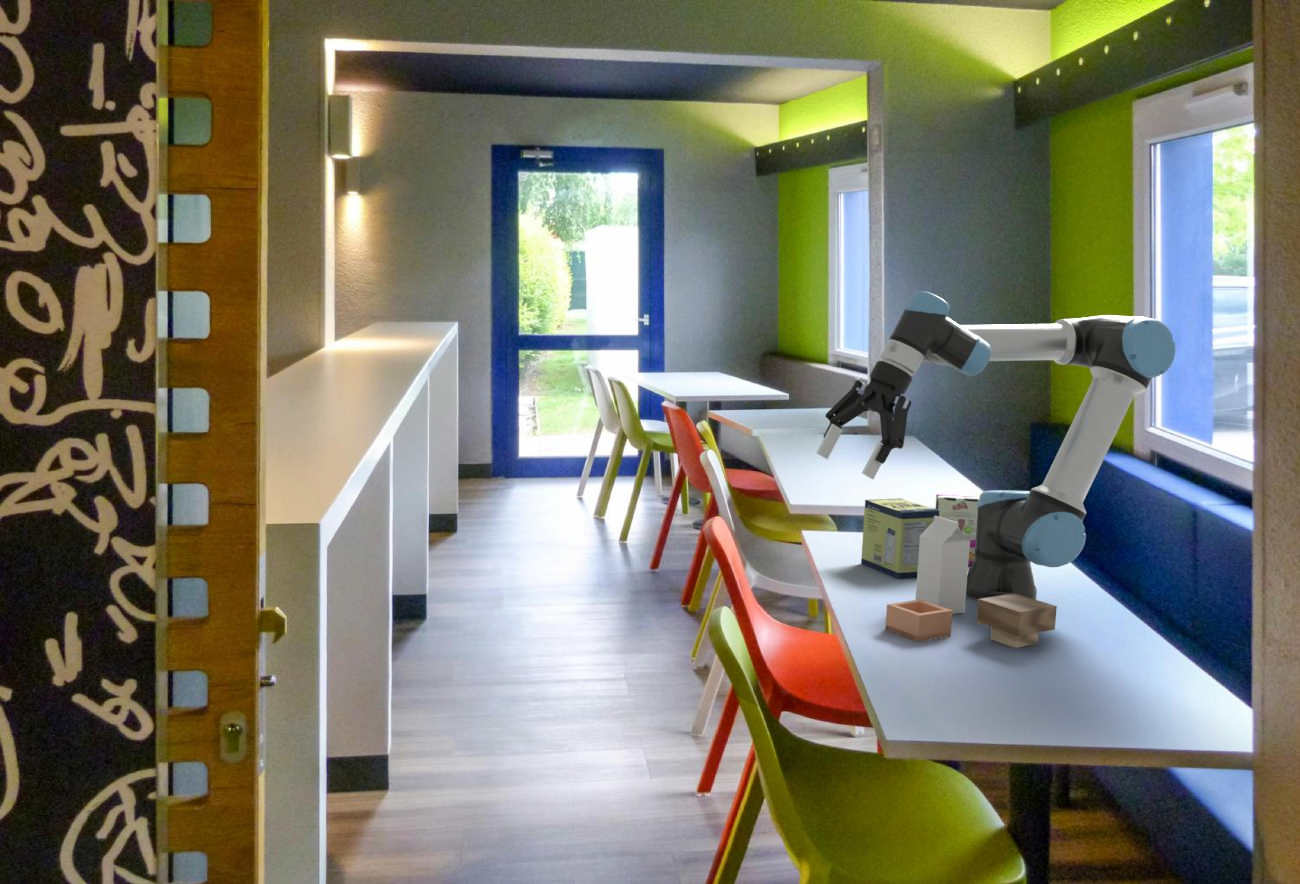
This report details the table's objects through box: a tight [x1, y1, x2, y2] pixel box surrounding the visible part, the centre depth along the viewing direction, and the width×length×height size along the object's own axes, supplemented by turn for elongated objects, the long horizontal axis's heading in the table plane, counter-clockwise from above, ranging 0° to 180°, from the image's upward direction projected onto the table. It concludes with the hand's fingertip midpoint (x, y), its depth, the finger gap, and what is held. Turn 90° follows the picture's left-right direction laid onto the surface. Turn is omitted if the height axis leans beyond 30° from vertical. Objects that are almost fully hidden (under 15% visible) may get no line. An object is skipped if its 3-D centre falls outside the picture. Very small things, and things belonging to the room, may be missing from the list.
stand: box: [990, 627, 1039, 649], centre depth 230 cm, size 6×6×3 cm
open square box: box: [884, 599, 953, 643], centre depth 233 cm, size 9×9×5 cm
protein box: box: [860, 498, 939, 580], centre depth 283 cm, size 10×16×16 cm
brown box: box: [975, 593, 1058, 636], centre depth 230 cm, size 10×10×4 cm
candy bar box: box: [935, 493, 980, 568], centre depth 292 cm, size 11×5×16 cm, turn 80°
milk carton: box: [915, 516, 970, 615], centre depth 249 cm, size 7×7×19 cm
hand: (844, 466), depth 235 cm, fingers open, 13 cm apart
